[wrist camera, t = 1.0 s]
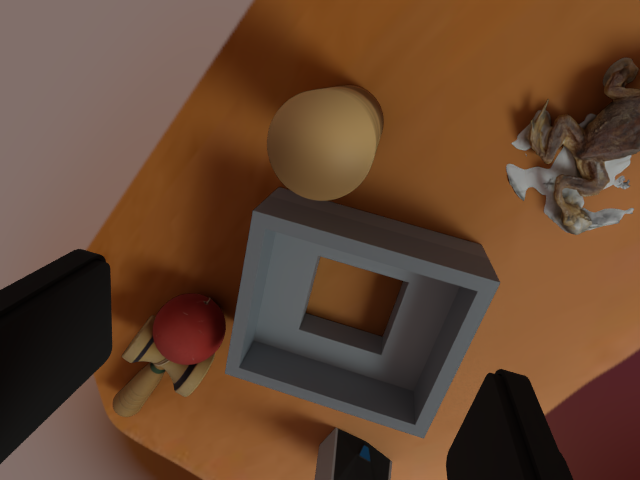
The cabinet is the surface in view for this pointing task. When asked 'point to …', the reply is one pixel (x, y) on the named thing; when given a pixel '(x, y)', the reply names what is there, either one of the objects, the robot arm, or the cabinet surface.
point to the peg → (325, 141)
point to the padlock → (350, 459)
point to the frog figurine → (583, 154)
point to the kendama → (173, 349)
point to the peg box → (346, 342)
